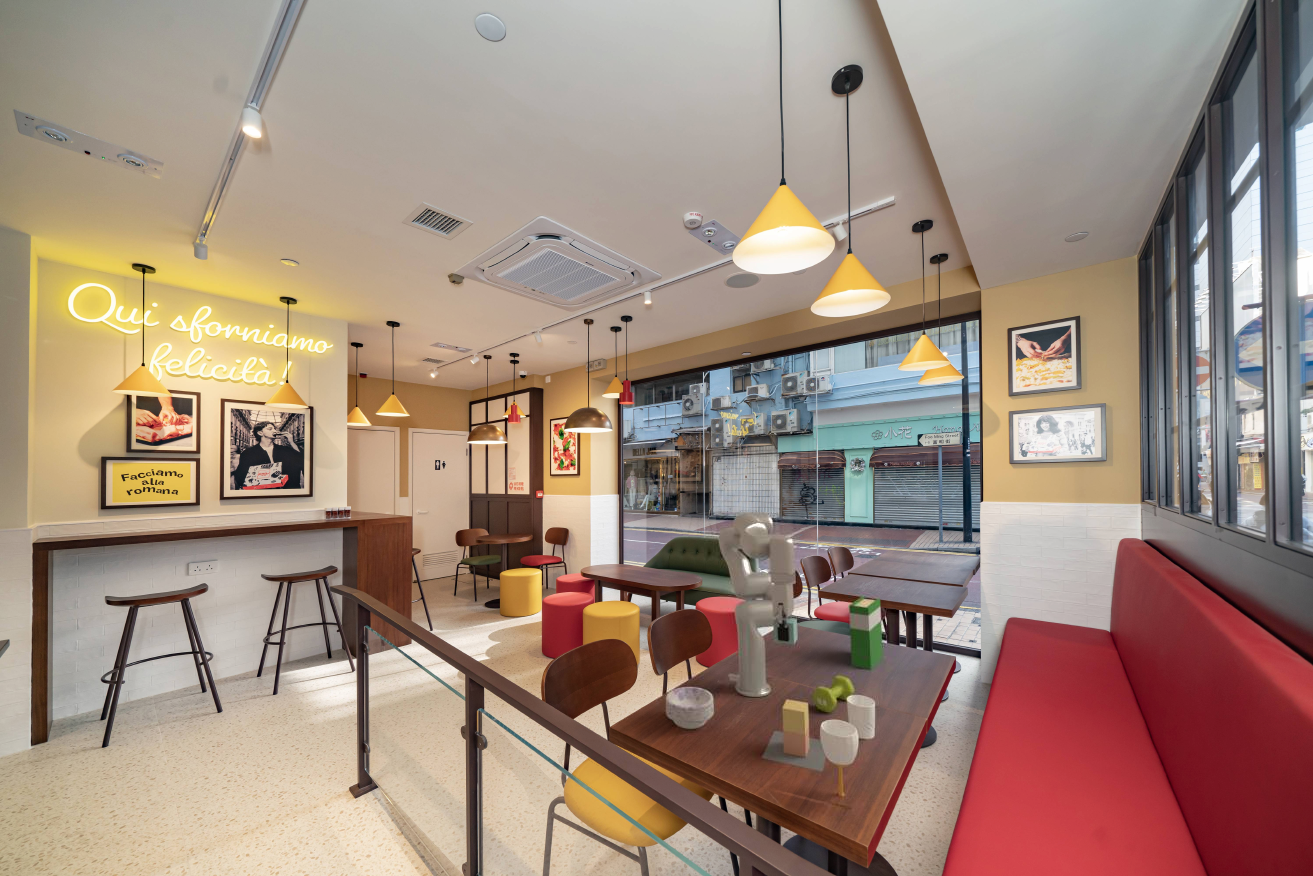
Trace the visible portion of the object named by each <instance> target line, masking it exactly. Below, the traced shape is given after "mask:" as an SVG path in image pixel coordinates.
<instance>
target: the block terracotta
mask: <svg viewBox="0 0 1313 876" xmlns="http://www.w3.org/2000/svg"><path fill="white" fill-rule="evenodd" d="M782 732H783V743H784V753H788V754H792V755H797V756H801V757H806V756H807V753H808V750H809V747H810V746H809V738H810V727H809V726H808V728H807V731H806V734H805V735H804V734H799V733H794V732H789V731H784V730H783V729H782Z"/></svg>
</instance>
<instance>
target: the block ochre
mask: <svg viewBox="0 0 1313 876" xmlns="http://www.w3.org/2000/svg"><path fill="white" fill-rule="evenodd" d="M809 716H810V715H809V703H808V702H804V701H798V700H791V699H786V700H785V702H784V704H783V706H782V731H783V730H784V731H789V732H794V733H799V734H804V735H805V734H806V731H807V728H808V726H809V725H810V719H809V718H810V717H809Z"/></svg>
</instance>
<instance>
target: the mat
mask: <svg viewBox="0 0 1313 876" xmlns="http://www.w3.org/2000/svg"><path fill="white" fill-rule="evenodd" d="M809 746H810V747H809V750H808V753H807V756H806V757H801V756H797V755H792V754H788V753H784V743H783V731H777V730H774V732H773V733H772V735H771V738H770V740H769V742H768V744H767V746H766V748H765V750H764V752H763V754H762V756H761V759H765V760H769V761H772V762H773V761H774V762H778V763H783V764H786V765H790V766H796V767H800V768H802V769H807V770H812V771H817V772H821V773H822V772H823V771H824V767H825V764H826V761H827V757H826V755H825V753H824V750H823V747H822V744H821V739H817V738H812V737H809Z"/></svg>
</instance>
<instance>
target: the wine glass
mask: <svg viewBox="0 0 1313 876" xmlns="http://www.w3.org/2000/svg"><path fill="white" fill-rule="evenodd" d="M819 727H820V730H819V738H820V739H819V740H821V744H822V747H823V750H824V753H825V755H826V760H829V762H831V764H832V765H833V766H835V767H838V788H839V792H838V796H840V797H844V796H845V793H844V784H843V783H844V782H843V768H847V767H848V766H850V765H851V764H853V763H854V761H855V758H856V757H857V753H858V749H859V739H860V738H858V733H857V730H856V728H855V727H854V726H853V725H852V724H850V723H849V721H848V722H847V721H844V720H840V719H829V720H825V721H823V722H821V724H820V726H819ZM828 804H830V805H832V806H834V807H837V808H840V809H847V810H848V809H851V807H849V806H845V805H840V804H837V803H834V802H829V801H828Z"/></svg>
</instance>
